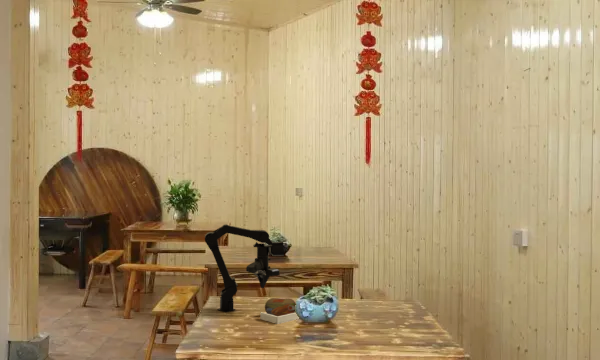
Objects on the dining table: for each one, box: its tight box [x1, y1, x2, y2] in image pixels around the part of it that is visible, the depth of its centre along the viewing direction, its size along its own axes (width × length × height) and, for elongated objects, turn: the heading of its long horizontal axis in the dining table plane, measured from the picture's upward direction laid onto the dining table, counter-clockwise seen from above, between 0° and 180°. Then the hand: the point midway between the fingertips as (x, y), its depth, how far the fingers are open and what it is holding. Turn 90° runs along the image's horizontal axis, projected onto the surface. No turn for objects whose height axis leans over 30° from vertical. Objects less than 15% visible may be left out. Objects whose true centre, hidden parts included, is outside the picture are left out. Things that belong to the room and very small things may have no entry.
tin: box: [264, 297, 297, 316], centre depth 273 cm, size 15×3×8 cm, turn 84°
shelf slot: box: [259, 311, 300, 325], centre depth 269 cm, size 12×20×3 cm, turn 136°
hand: (262, 287), depth 284 cm, fingers closed
